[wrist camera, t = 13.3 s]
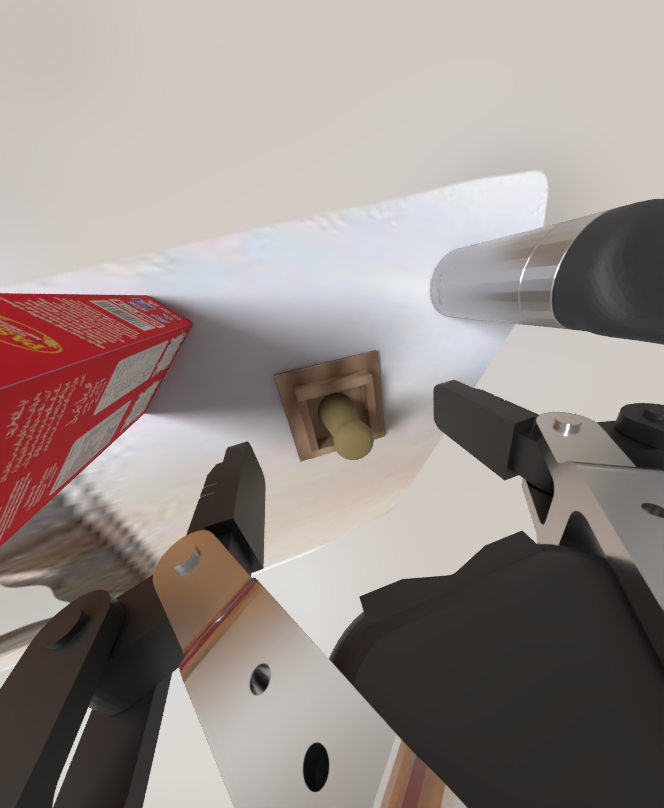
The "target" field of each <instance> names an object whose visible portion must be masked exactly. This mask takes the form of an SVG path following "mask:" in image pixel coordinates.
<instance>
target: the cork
mask: <svg viewBox="0 0 664 808" xmlns="http://www.w3.org/2000/svg"><path fill="white" fill-rule="evenodd" d="M318 415H319V418H320V420H321V421H322V422H323V424H324V425H325V426H326V428H327V429H328V430H329V432H330V433H331V434H332V436H333V437H334V441H333V442H334V446H335V449H336V451H337V452H338V454H339V455H340V456H342V457H343V458H345V459H349V460H358V459H361V458H363V457H364V456H366V455H367V454H368V453H369V452H370V450H371V449H372V446H373V442H374V438H373V433H372V431H371V430H370V428H369V427H368V426H367V425H366V424H365V423H363V422H361V421H360V419H359V416H358V414H357V412H356V409H355V407H354V405H353V402H352V401H351V399H350V398H349V397H348V396H347V395H345V394H342V393H333V394H330V395H328V396H326V397H325V398H324V399H323V400H322V401H321V402H320V405H319V407H318Z"/></svg>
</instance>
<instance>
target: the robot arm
mask: <svg viewBox="0 0 664 808" xmlns="http://www.w3.org/2000/svg"><path fill="white" fill-rule="evenodd" d="M430 292H431V299H432V303H433V305H434V307H435V308H436V309H437V311H438V312H439V313H441V314H443V315H445V316H450V317H459V318H468V319H477V320H486V321H496V322H505V323H514V324H524V325H534V326H544V327H553V328H563V329H572V330H581V331H588V332H591V333H594V334H598V335H602V336H608V337H615V338H623V339H630V340H639V341H645V342H651V343H657V344H664V199H653V200H647V201H642V202H637V203H634V204H630V205H626V206H622V207H619V208H615V209H611V210H607V211H603V212H600V213H595V214H591V215H588V216H584V217H580V218H576V219H573V220H569V221H565V222H561V223H557V224H553V225H549V226H546V227H542V228H538V229H534V230H530V231H526V232H522V233H518V234H514V235H510V236H506V237H503V238H499V239H495V240H491V241H487V242H483V243H479V244H475V245H471V246H467V247H463V248H459V249H456V250H454V251H452V252H450V253H449V254H447V255H446V256H445V257H444V258H443V259H442V260H441V261H440V263H439V264H438V266H437V267H436V269H435V272H434V274H433V277H432V281H431V288H430ZM434 421H435V423H436V425H437V427H438V428H439V429H440V430H441V431H442V432H443V433H445V434H446V435H447V436H449V437H450V438H451V439H452V440H454V441H455V442H456V443H457V444H459V445H460V446H461V447H463V448H464V449H465V450H466V451H468V452H469V453H470V454H472V455H473V456H474V457H476V458H477V459H478V460H479V461H480V462H482V463H483V464H484V465H486V466H487V467H488V468H490V469H491V470H492V471H493V472H495V473H496V474H497V475H498V476H500V477H501V478H502V479H503V480H507V479H510V478H512V477H515V476H518V475H520V476H521V477H523V480H522V488H523V492H524V495H525V498H526V501H527V504H528V507H529V511H530V514H531V517H532V520H533V524H534V527H535V530H536V534H537V544H536V543H535V542H534V541H533V540H532V539H530V537H528V536H527V535H526V534H525V533H524V532H523V531H520V532H518V533H515V534H513V535H510V536H508V537H505V538H503V539H501V540H498V541H496V542H493V543H491V544H488V545H485V546H484V547H483V548H482V549H481V550H480V551H479V552H478V553H477V554H475V555H474V556H473V557H472V558H471V559H470V560H469V561H468V562H467V563H466V564H465V565H464V566H463V567H462V568H460V569H459V570H458V571H457V572H456V573H454V574H452V575H448V576H435V577H425V578H424V577H423V578H411V579H402V580H399V581H397V582H394V583H392V584H389V585H387V586H384V587H382V588H379V589H377V590H375V591H372V592H370V593H368V594H365V595H363V596H360V600H361V604H362V607H363V610H364V612H362V613H361V614H360V615H359V616H358V617H357V618H356V619H355V620H354V621H353V622H352V623H351V624H350V625H349V627H348V628H347V629H346V630H345V631H344V633H343V634H342V636H341V637H340V639H339V640H338V642H337V644H336V646H335V648H334V649H333V651H332V653H331V655H330V657H329V659H328V658H327V657H326V656H325V654H324V653H323V652H322V651H321V650H320V649H319V648H318V647H317V645H315V643H314V642H313V641H312V640H311V639H310V638H309V637H308V636H307V634H306V633H305V632H304V631H303V630H302V629H301V628H300V627H299V625H298V624H297V623H296V622H295V621H294V620H293V619H292V618H291V617H290V615H289V614H288V613H287V612H286V611H285V610H284V609H283V608H282V607H281V606H280V604H279V603H278V602H277V601H276V600H275V599H274V598H273V597H272V595H271V594H270V593H269V592H268V591H267V590H266V589H265V588H264V587H263V585H261V583H260V582H259V581H258V580H257V579H256V578H252V577H251V573H253V572H256V571H258V570H261V569H263V562H264V524H265V479H264V475H263V472H262V469H261V467H260V465H259V463H258V461H257V458H256V456H255V454H254V452H253V449H252V447H251V445H250V444H249V442H244V443H240V444H237V445H234V446H231V447H228V448H227V450H226V453H225V457H224V460H223V462H222V463H219V464H216V465H215V467H214V468H213V469H212V470H211V472H210V473H209V474H208V475H207V478H206V481H205V484H204V489H203V490H202V492H201V495H200V497H201V498H200V499H199V501H198V504H197V507H196V509H195V512H194V515H193V518H192V521H191V524H190V526H189V529H188V532H187V535H186V536H185V537H183V538H181V539H180V540H179V541H177V542H176V543H175V544H174V545H172V546H171V547H170V548H169V549H168V550H167V551H166V553H165V554H164V555H163V556H162V558H161V559H160V561H159V562H158V564H157V566H156V568H155V571H154V574H153V575H152V576H150V577H149V578H147V579H146V580H144V581H142V582H141V583H139V584H138V585H136V586H134V587H133V588H131V589H130V590H128V591H126V592H125V593H123V594H122V595H120V596H118V597H117V598H115V597H114V596H112V595H111V594H110V593H109V592H107V591H105V590H95V591H92V592H89V593H87V594H85V595H83V596H81V597H79V598H78V599H76V600H74V601H73V602H71V603H70V604H69V605H68V606H66V607H65V608H63V609H62V610H61V611H60V612H59V613H57V614H56V615H55V616H54V617H53V618H52V619H51V620H50V621H49V622H48V623H47V624H46V625H45V626H44V627H43V628H42V629H41V630H40V632H39V633H38V634H37V635H36V637H35V638H34V639H33V640H32V642H31V643H30V645H29V646H28V648H27V649H26V651H25V652H24V654H23V655H22V657H21V658H20V660H19V661H18V663H17V664H16V666H15V667H14V669H13V670H12V672H11V673H10V675H9V677H8V678H7V680H6V681H5V683H4V684H3V686H2V687H1V689H0V808H52V804H53V798H54V793H55V789H56V786H57V783H58V780H59V777H60V774H61V772H62V770H63V767H64V765H65V762H66V760H67V758H68V755H69V753H70V750H71V748H72V745H73V743H74V740H75V738H76V736H77V733H78V731H79V728H80V726H81V723H82V721H83V719H84V716H85V714H86V711H87V709H88V707H89V708H92V711H91V714H90V716H89V719H88V721H87V724H86V727H85V729H84V731H83V734H82V736H81V739H80V741H79V744H78V746H77V749H76V752H75V754H74V756H73V759H72V761H71V764H70V766H69V769H68V772H67V774H66V777H65V779H64V782H63V784H62V787H61V789H60V792H59V794H58V797H57V799H56V802H55V804H54V807H53V808H142V807H143V802H144V798H145V793H146V789H147V784H148V780H149V775H150V771H151V766H152V762H153V757H154V753H155V748H156V743H157V739H158V735H159V730H160V726H161V721H162V716H163V712H164V707H165V703H166V698H167V694H168V689H169V685H170V680H171V676H172V672H173V671H175V670H176V669H177V668H178V667H179V668H180V673H181V676H182V679H183V682H184V684H185V687H186V689H187V692H188V694H189V696H190V699H191V701H192V704H193V707H194V709H195V711H196V714H197V716H198V719H199V721H200V724H201V726H202V729H203V731H204V734H205V736H206V739H207V741H208V744H209V746H210V749H211V751H212V754H213V756H214V758H215V761H216V764H217V766H218V768H219V771H220V773H221V776H222V778H223V781H224V783H225V786H226V788H227V791H228V793H229V796H230V798H231V801H232V803H233V806H234V808H664V405H660V404H649V403H635V404H629V405H625V406H623V407H622V408H621V410H620V413H619V415H618V418H617V420H616V421H607V422H595V421H593V420H591V419H589V418H586V417H584V416H580V415H577V414H572V413H565V412H549V413H544V414H542V415H538V414H536V413H534V412H531V411H529V410H526V409H525V408H522V407H520V406H517V405H515V404H513V403H511V402H509V401H506V400H505V401H504V400H503V399H502V398H499V397H497V396H494V395H493V394H490V393H488V392H486V391H484V390H480V389H475V388H471V387H469V386H467V385H465V384H463V383H460V382H458V381H456V380H451V381H448V382H444V383H441V384H438V385H436V386H435V387H434Z"/></svg>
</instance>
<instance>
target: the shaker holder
mask: <svg viewBox="0 0 664 808" xmlns="http://www.w3.org/2000/svg"><path fill="white" fill-rule="evenodd" d="M274 376H275V380H276V383H277V386H278V390H279V393H280V396H281V399H282V403H283V406H284V409H285V413H286V416H287V419H288V422H289V426H290V429H291V432H292V435H293V439H294V442H295V445H296V449H297V452H298V455H299V458H300V462H301V461H304V460H307V459H311V458H315V457H318V456H321V455H325V454H328V453H331V452H335V451H336V449H335V446H334V442H333V441H334V437H333V436H332V434H331V433H330V432H329V430H328V429H327V428H326V426H325V425H324V424H323V422H322V421H321V420H320V418H319V415H318V407H319V405H320V402H321V401H322V400H323V399H324V398H325V397H326V396H328V395H330V394H333V393H342V394H345V395H347V396H348V397H349V398H350V399H351V401H352V402H353V405H354V407H355V409H356V412H357V414H358V416H359V419H360V421H361V422H363V423H365V424H366V425H367V426H368V427H369V428H370V430H371V431H372V433H373V438H374V440H375V439H378V438H381V437H384V436H385V431H384V420H383V409H382V398H381V387H380V376H379V365H378V354H377V351H371V352H366V353H362V354H358V355H354V356H350V357H346V358H342V359H338V360H334V361H330V362H326V363H322V364H317V365H313V366H309V367H305V368H301V369H297V370H293V371H289V372H285V373H281V374H277V375H274Z"/></svg>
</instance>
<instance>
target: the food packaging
mask: <svg viewBox="0 0 664 808" xmlns="http://www.w3.org/2000/svg"><path fill="white" fill-rule="evenodd" d="M192 324H193V323H192V322H190V321H189V320H187V319H185V318H184V317H182V316H180V315H179V314H177V313H175V312H174V311H172V310H170V309H169V308H167V307H165V306H164V305H162V304H160V303H159V302H157V301H155V300H154V299H152V298H150V297H149V296H147V295H80V294H9V293H0V546H2V545H3V544H4V543H5V542H6V541H7V540H8V539H9V538H10V537H11V536H12V535H13V534H14V533H16V532H17V531H18V530H19V529H20V528H21V527H22V526H23V525H24V524H25V523H26V522H27V521H29V520H30V519H31V518H32V517H33V516H34V515H35V514H36V513H37V512H38V511H39V510H40V509H42V508H43V507H44V506H45V505H46V504H47V503H48V502H49V501H50V500H51V499H52V498H53V497H54V496H56V495H57V494H58V493H59V492H60V491H61V490H62V489H63V488H64V487H65V486H66V485H67V484H69V483H70V482H71V481H72V480H73V479H74V478H75V477H76V476H77V475H78V474H79V473H80V472H82V471H83V470H84V469H85V468H86V467H87V466H88V465H89V464H90V463H91V462H92V461H93V460H94V459H96V458H97V457H98V456H99V455H100V454H101V453H102V452H103V451H104V450H105V449H106V448H107V447H109V446H110V445H111V444H112V443H113V442H114V441H115V440H116V439H117V438H118V437H119V436H120V435H122V434H123V433H124V432H125V431H126V430H127V429H128V428H129V427H130V426H131V425H132V424H133V423H134V422H136V421H137V420H138V419H139V418H140V417H141V416H142V415H143V414H144V413H145V411H146V409H147V407H148V405H149V404H150V402H151V400H152V398H153V396H154V394H155V392H156V391H157V389H158V387H159V385H160V383H161V381H162V380H163V378H164V376H165V374H166V372H167V370H168V368H169V367H170V365H171V363H172V361H173V359H174V357H175V356H176V354H177V352H178V350H179V348H180V346H181V344H182V343H183V341H184V339H185V337H186V335H187V333H188V332H189V330H190V328H191V326H192Z"/></svg>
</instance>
